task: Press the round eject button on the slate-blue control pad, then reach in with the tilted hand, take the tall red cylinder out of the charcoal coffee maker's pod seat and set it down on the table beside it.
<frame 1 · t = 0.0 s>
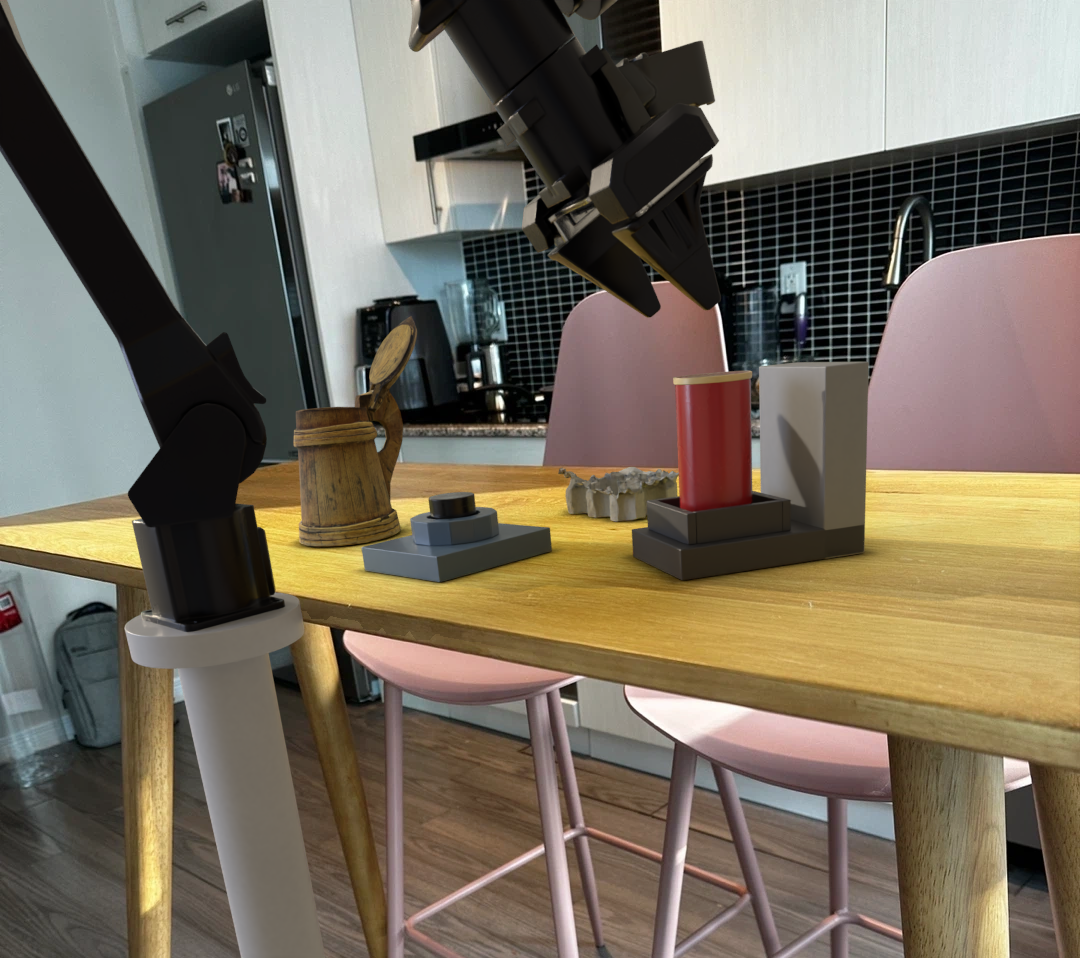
hand: (682, 309, 64), 16 cm above the table, tool tilted 35°, fingers open, 9 cm apart
coffee maker: (717, 559, 70), on the table
control pad: (458, 560, 77), on the table
wooden mug: (373, 535, 93), on the table
eject button: (452, 507, 76), point 4 cm above the table, slide at 0.1 cm
red cylinder: (716, 529, 69), point 2 cm above the table, touching coffee maker
egg carton: (622, 513, 92), on the table
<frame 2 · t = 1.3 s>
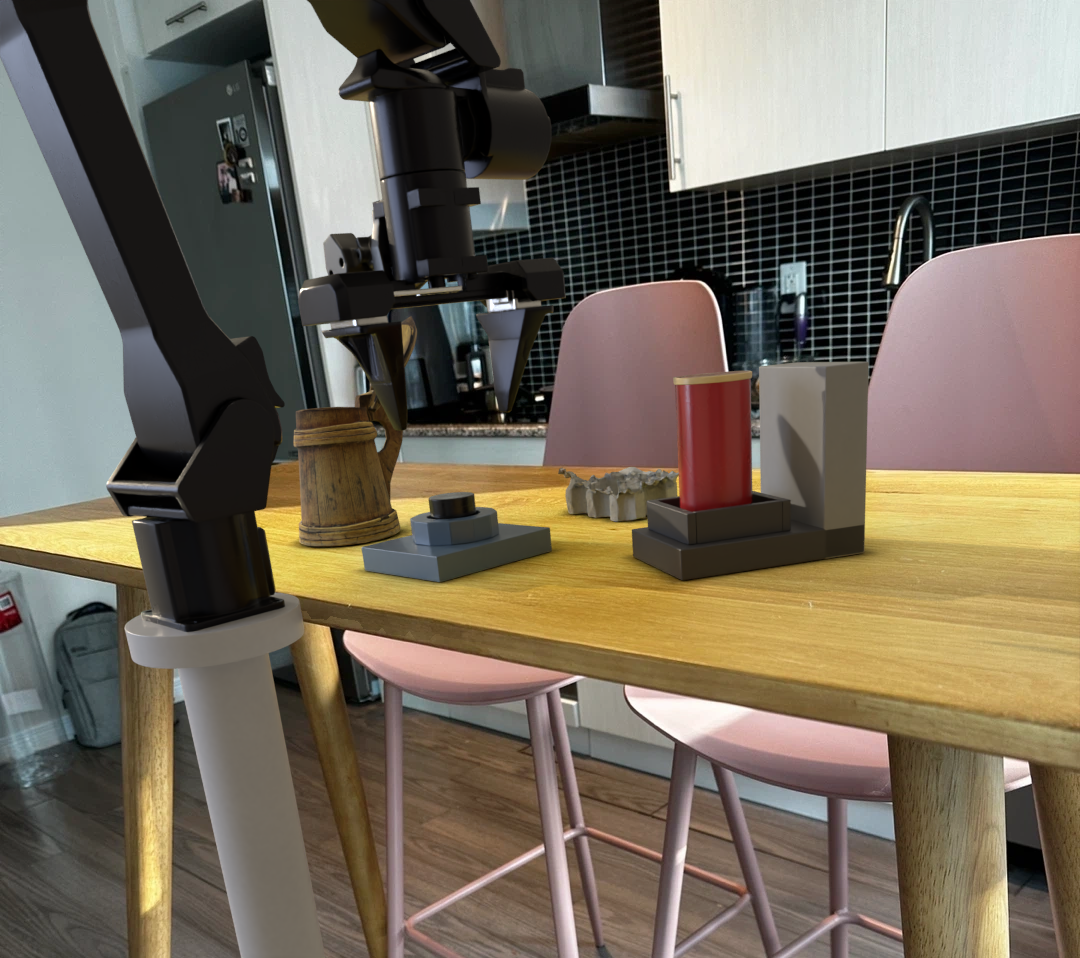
hand: (454, 420, 74), 10 cm above the table, tool pointing down, fingers open, 9 cm apart
nothing on the table moved.
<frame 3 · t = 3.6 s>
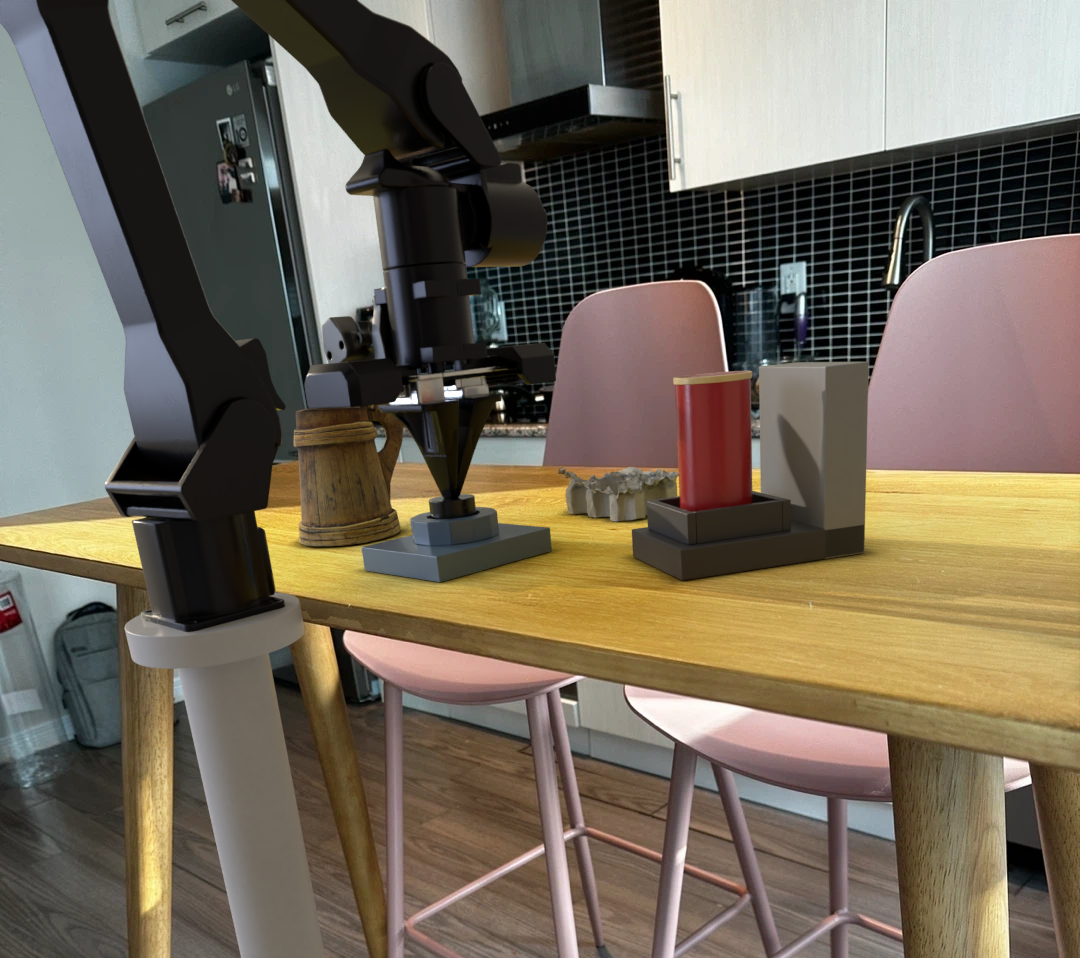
hand: (451, 497, 76), 5 cm above the table, tool pointing down, fingers closed, pressing on eject button
eject button: (452, 509, 76), point 4 cm above the table, slide at 0.0 cm, touching gripper
everything else where it was.
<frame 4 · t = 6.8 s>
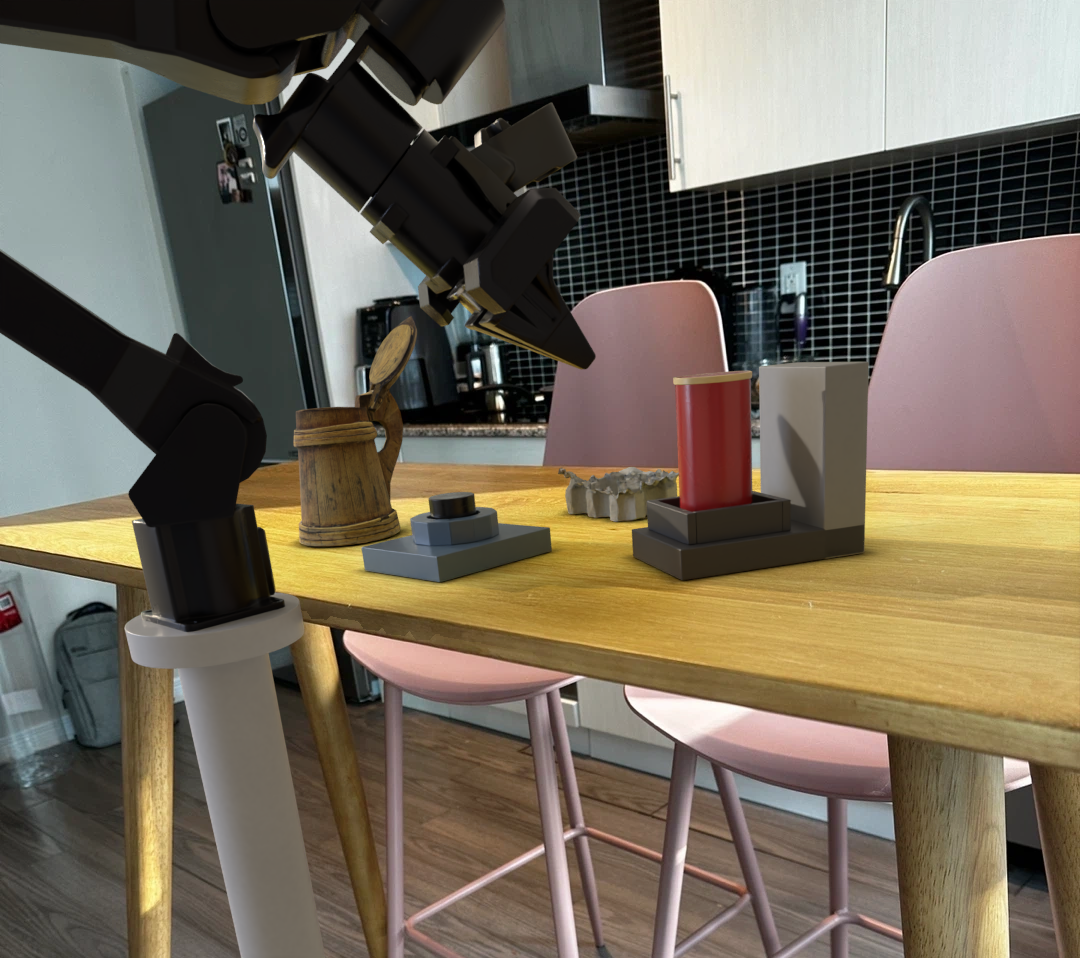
hand: (589, 363, 64), 13 cm above the table, tool tilted 45°, fingers closed
eject button: (452, 507, 76), point 4 cm above the table, slide at 0.1 cm
everything else where it was.
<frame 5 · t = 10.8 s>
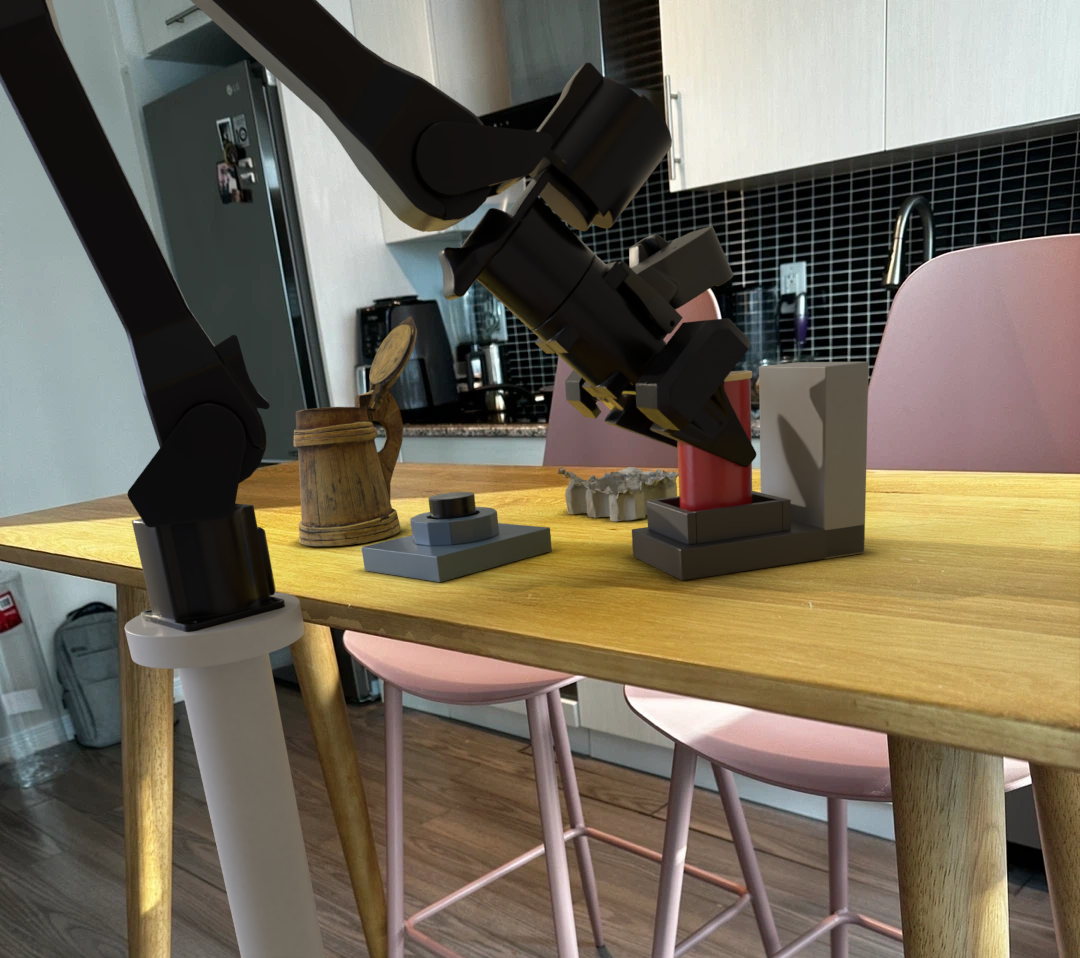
hand: (734, 458, 68), 7 cm above the table, tool tilted 45°, fingers closed on red cylinder, 5 cm apart
red cylinder: (716, 529, 69), point 2 cm above the table, touching coffee maker, gripper
everything else where it was.
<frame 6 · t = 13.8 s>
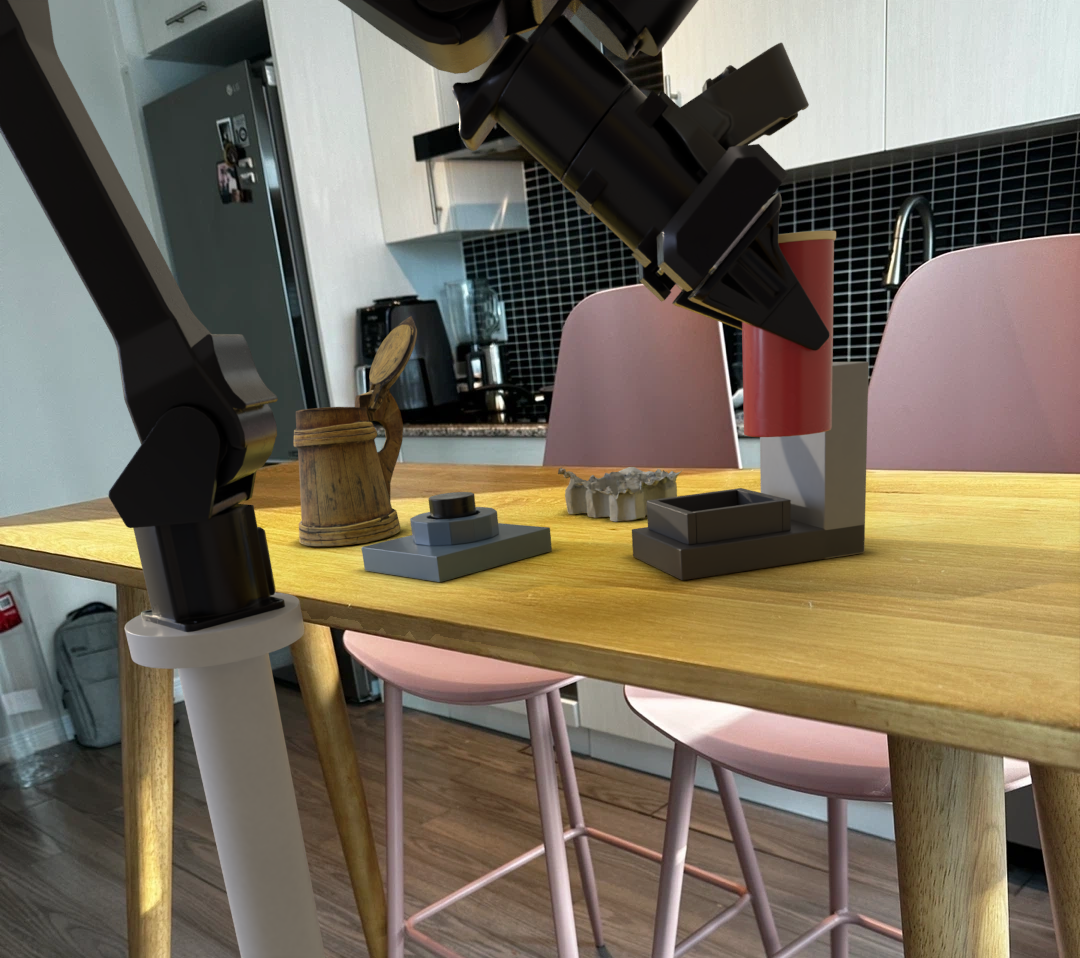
hand: (812, 343, 56), 14 cm above the table, tool tilted 45°, fingers closed on red cylinder, 5 cm apart
red cylinder: (787, 431, 58), point 9 cm above the table, touching gripper
everything else where it was.
when the fingers open (5 cm above the table, at t = 17.1 s): red cylinder stays where it is, on the table.
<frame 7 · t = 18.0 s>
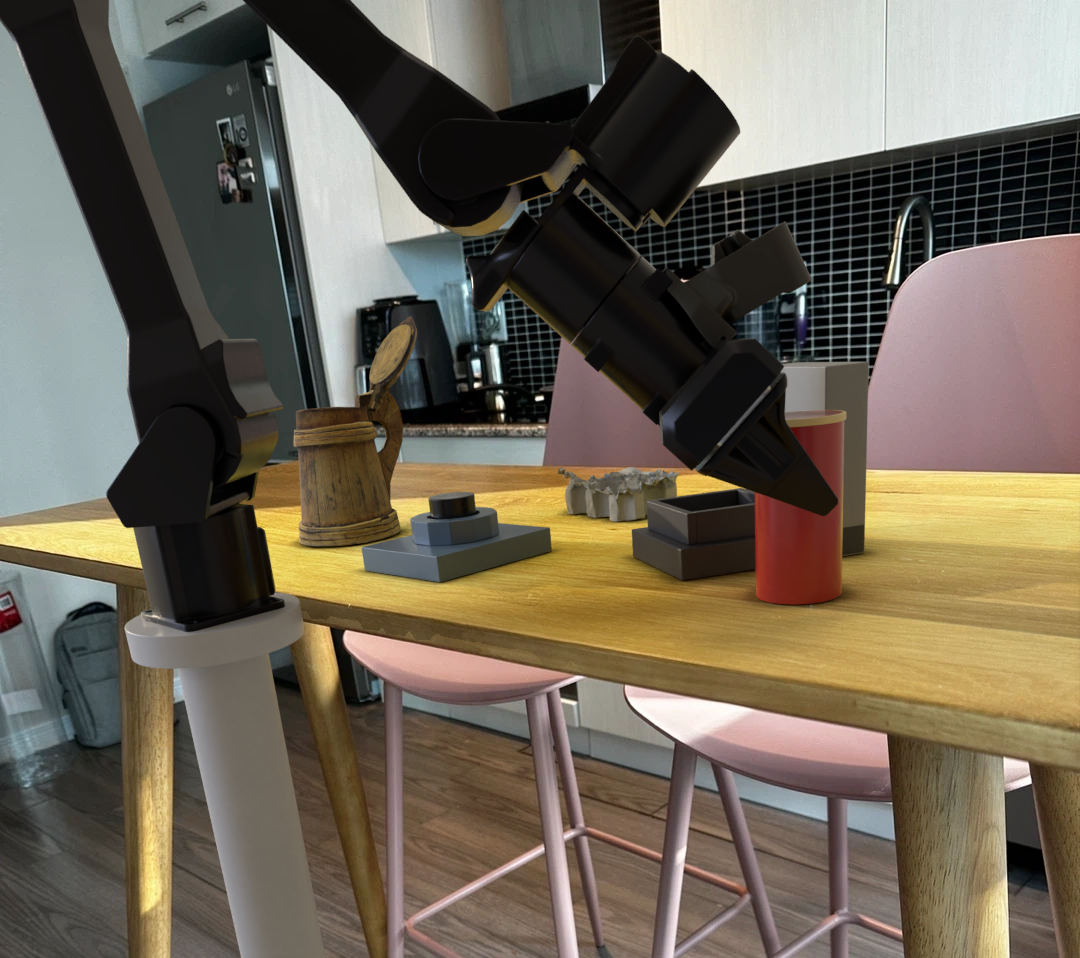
hand: (816, 495, 57), 6 cm above the table, tool tilted 45°, fingers open, 9 cm apart
red cylinder: (798, 594, 59), on the table
everything else where it was.
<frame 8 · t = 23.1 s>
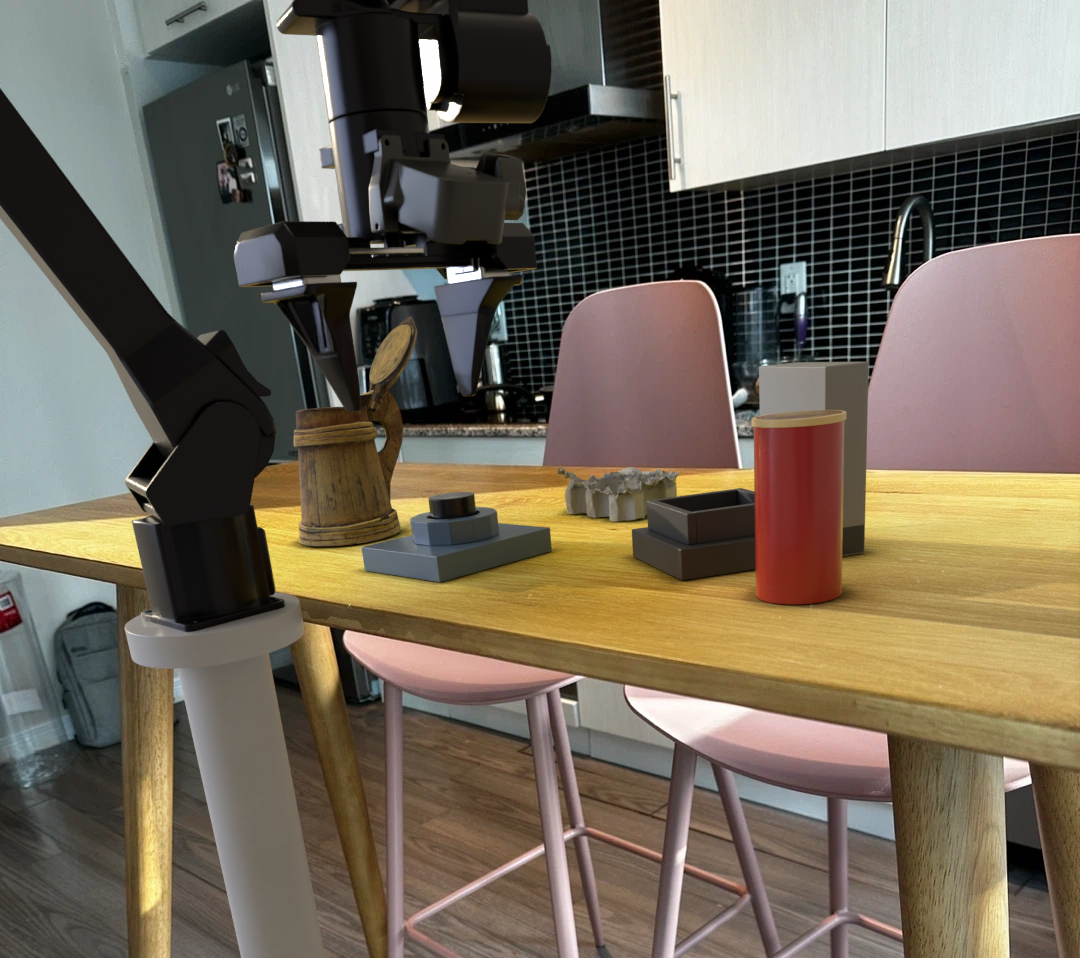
hand: (413, 403, 65), 12 cm above the table, tool pointing down, fingers open, 9 cm apart
nothing on the table moved.
at the end: eject button pushed in 1.0 cm at the most during the clip, back to where it started at the end; red cylinder inside the target area (0.1 cm from its centre), on the table; the gripper is holding nothing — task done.
